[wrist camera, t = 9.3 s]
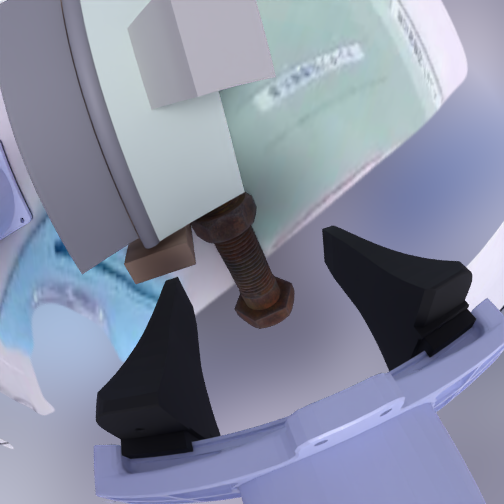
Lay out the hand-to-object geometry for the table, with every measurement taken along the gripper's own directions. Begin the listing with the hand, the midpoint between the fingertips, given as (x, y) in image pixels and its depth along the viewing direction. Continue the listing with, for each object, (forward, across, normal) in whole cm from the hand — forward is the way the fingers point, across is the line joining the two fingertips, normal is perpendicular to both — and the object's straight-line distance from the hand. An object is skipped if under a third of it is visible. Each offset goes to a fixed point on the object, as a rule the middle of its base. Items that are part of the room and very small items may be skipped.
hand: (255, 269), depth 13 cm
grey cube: (+6, +1, -10) cm, 12 cm away
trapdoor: (+7, +5, -10) cm, 13 cm away
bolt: (+11, 0, +4) cm, 12 cm away
